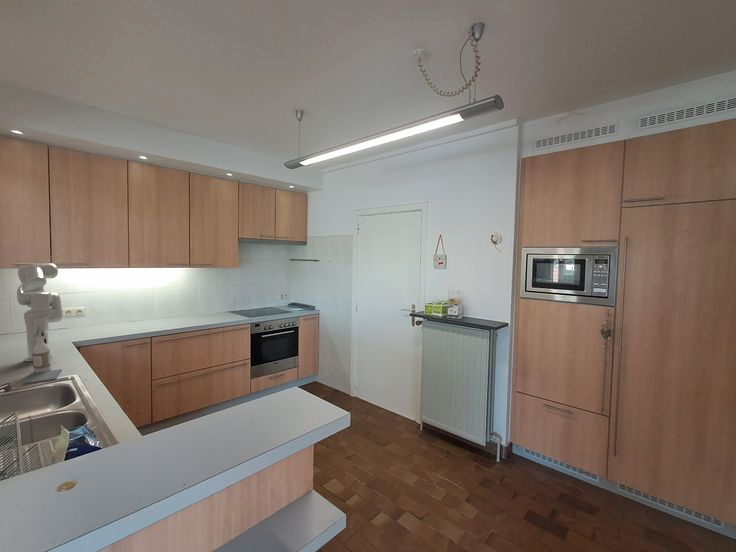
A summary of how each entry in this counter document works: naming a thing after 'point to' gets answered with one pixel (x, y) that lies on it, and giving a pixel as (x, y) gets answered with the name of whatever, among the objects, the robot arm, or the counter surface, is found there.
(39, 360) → the bath foam
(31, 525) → the counter surface
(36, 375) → the mat
